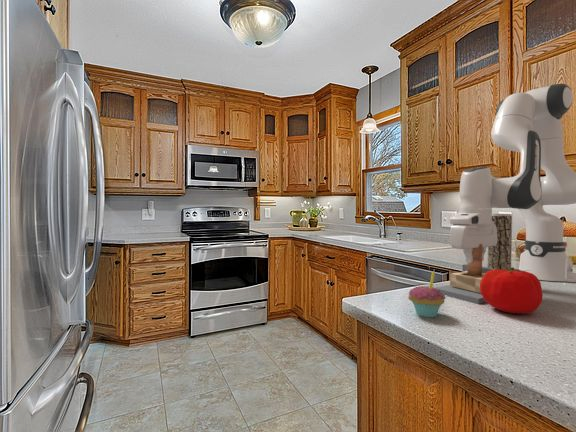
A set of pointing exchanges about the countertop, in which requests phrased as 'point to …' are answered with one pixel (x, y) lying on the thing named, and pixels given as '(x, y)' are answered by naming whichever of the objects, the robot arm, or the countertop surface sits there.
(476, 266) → the dowel
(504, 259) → the wooden log
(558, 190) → the robot arm
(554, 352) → the countertop surface
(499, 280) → the tomato
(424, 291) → the cupcake
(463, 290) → the slate track
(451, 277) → the square wooden frame
